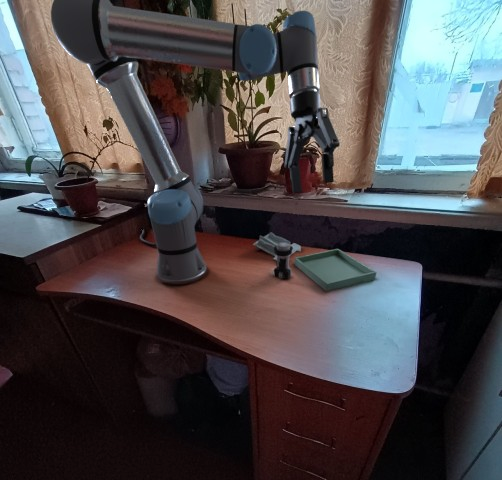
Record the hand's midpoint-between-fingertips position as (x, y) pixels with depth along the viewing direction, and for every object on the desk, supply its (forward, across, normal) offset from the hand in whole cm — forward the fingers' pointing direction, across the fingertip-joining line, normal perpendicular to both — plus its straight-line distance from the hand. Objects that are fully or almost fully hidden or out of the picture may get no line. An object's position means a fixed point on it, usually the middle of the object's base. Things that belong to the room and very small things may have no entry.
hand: (311, 188), depth 84 cm
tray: (+24, +1, -6) cm, 25 cm away
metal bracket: (+17, +22, +1) cm, 28 cm away
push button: (+23, +7, +9) cm, 25 cm away
